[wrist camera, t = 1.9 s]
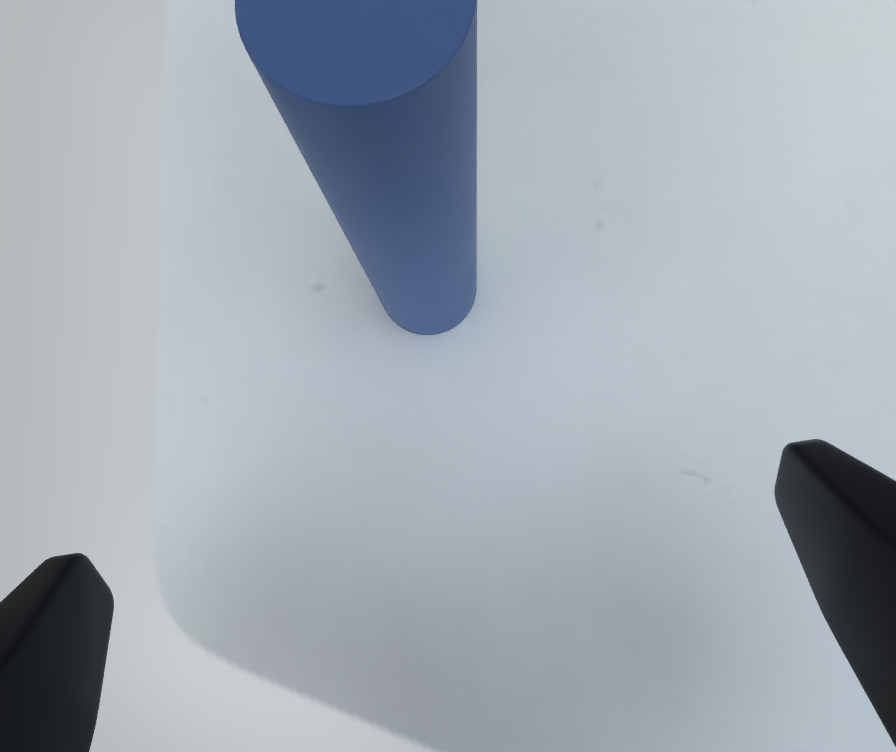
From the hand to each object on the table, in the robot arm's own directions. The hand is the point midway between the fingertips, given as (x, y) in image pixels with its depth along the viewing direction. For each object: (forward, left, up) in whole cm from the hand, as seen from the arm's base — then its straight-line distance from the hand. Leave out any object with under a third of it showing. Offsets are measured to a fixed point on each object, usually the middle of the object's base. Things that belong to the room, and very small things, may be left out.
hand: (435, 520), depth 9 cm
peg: (+4, +6, -13) cm, 15 cm away
